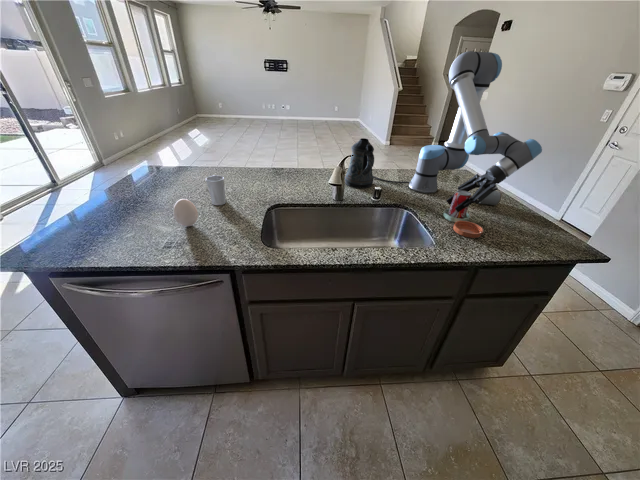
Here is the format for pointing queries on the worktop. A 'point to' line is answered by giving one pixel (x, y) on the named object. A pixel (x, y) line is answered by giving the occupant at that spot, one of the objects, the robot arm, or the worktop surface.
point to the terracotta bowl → (468, 229)
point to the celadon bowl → (453, 217)
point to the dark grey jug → (360, 165)
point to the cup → (216, 189)
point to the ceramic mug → (492, 198)
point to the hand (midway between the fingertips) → (452, 206)
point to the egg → (185, 212)
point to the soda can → (457, 200)
